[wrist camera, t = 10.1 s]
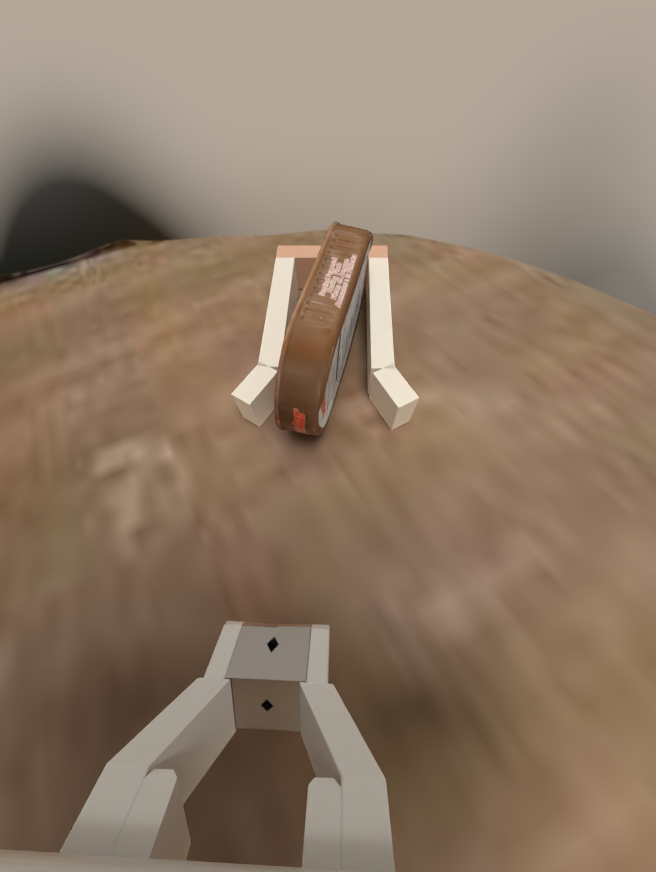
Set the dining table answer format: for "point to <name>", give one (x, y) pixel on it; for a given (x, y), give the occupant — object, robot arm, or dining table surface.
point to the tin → (322, 332)
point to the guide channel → (382, 376)
